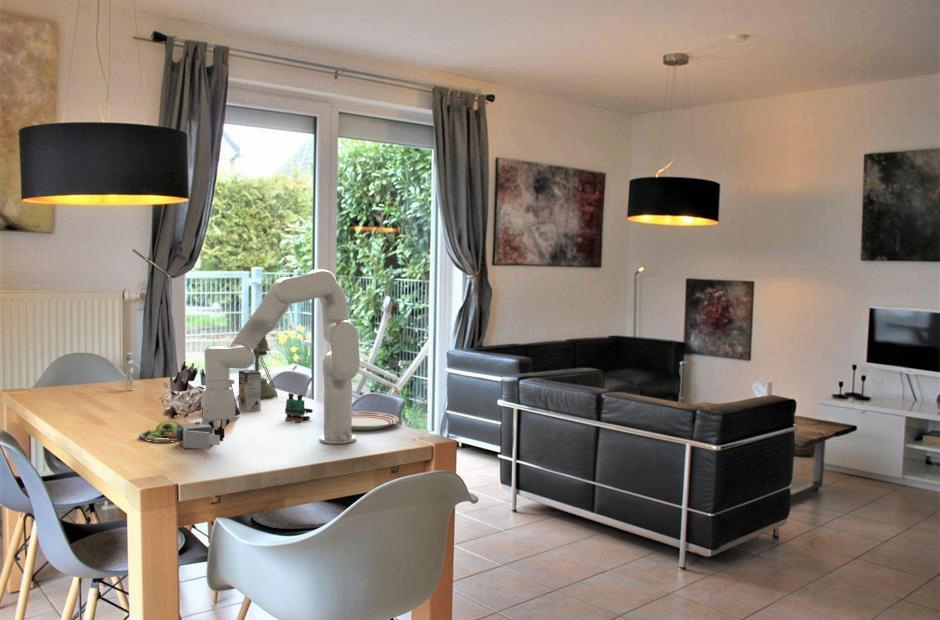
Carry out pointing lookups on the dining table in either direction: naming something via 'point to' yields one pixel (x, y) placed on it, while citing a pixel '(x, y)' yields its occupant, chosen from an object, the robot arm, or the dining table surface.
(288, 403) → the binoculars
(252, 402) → the coffee box
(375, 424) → the dinner plate
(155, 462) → the dining table surface
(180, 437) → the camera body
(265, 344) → the green desk lamp
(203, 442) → the side door
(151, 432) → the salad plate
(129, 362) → the human figurine
